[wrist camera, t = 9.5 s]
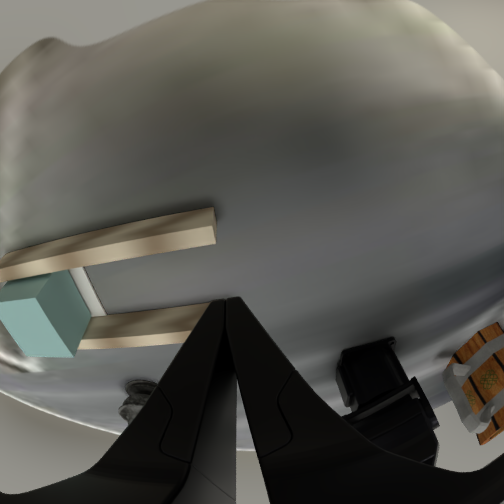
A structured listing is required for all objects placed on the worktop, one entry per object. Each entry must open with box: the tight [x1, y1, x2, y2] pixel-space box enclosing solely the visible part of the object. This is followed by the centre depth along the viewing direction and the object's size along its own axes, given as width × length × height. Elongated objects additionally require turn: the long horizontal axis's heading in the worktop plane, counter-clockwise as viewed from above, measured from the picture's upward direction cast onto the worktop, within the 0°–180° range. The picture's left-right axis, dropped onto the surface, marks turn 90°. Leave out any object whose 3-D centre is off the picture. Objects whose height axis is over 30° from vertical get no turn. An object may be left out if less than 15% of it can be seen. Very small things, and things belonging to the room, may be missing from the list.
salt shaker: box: [118, 380, 158, 425], centre depth 25 cm, size 6×6×12 cm
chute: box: [0, 207, 217, 349], centre depth 20 cm, size 20×9×3 cm, turn 97°
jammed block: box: [0, 270, 91, 357], centre depth 19 cm, size 6×6×5 cm
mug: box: [442, 322, 504, 445], centre depth 28 cm, size 20×14×15 cm
